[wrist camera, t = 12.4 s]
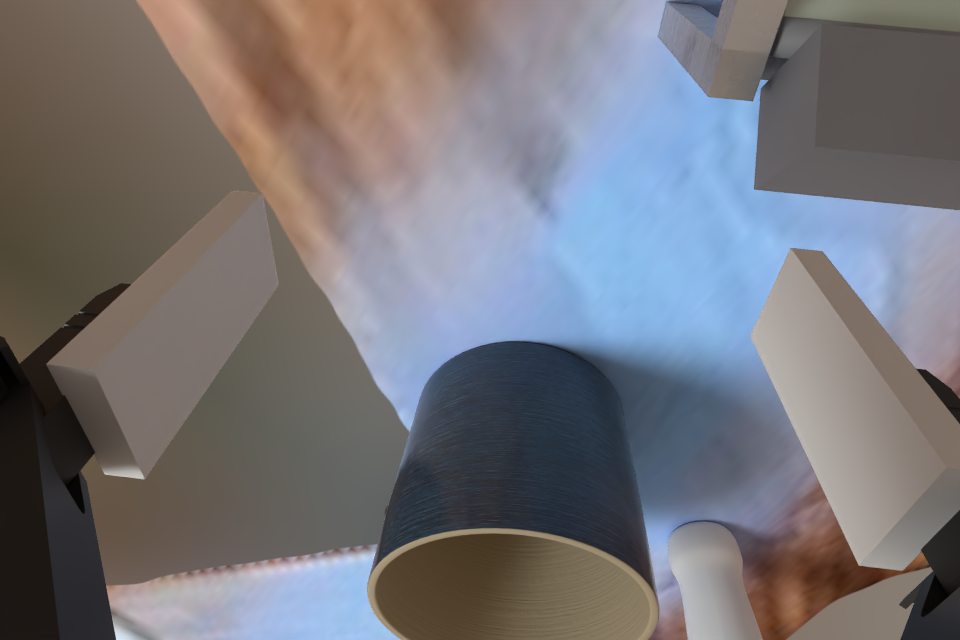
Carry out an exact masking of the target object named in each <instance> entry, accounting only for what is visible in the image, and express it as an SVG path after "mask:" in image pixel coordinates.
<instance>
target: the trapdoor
mask: <svg viewBox="0 0 960 640" xmlns="http://www.w3.org/2000/svg"><path fill="white" fill-rule="evenodd" d="M769 57H778V58H789V59H788V60H787V62H786V63H785V64H784V65H783V66H782V67H781V68H780V69H779V70H778V71H777V72H776V73H775V74H774V75H773V76H772V77H771V78H770V80H769V81H768V82H767V83H766V84H765V85H764V86H763V87H762V88H761V95H760V110H759V124H758V139H757V153H756V168H755V183H754V190H764V191H774V192H784V193H794V194H804V195H814V196H824V197H834V198H844V199H854V200H864V201H874V202H884V203H894V204H904V205H914V206H924V207H934V208H944V209H954V210H960V0H788V2H787V5H786V8H785V11H784V14H783V16H782V19H781V22H780V25H779V28H778V31H777V34H776V36H775V39H774V42H773V45H772V48H771V51H770V54H769Z"/></svg>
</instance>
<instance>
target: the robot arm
mask: <svg viewBox="0 0 960 640" xmlns="http://www.w3.org/2000/svg"><path fill="white" fill-rule="evenodd" d="M278 285H279V283H278V277H277V273H276V266H275V260H274V255H273V249H272V244H271V238H270V233H269V227H268V221H267V216H266V210H265V205H264V199H263V193H253V192H244V191H235V190H232V191H231V193H229V194H228V195H227V196H226V197H225V198H224V199H223V200H222V201H221V202H220V203H219V204H217V205H216V206H215V207H214V208H213V209H212V210H211V211H210V212H209V213H208V214H207V215H206V216H205V217H203V218H202V219H201V220H200V221H199V222H198V223H197V224H196V225H195V226H194V227H193V228H192V229H191V230H190V231H189V232H187V233H186V234H185V235H184V236H183V237H182V238H181V239H180V240H179V241H178V242H177V243H176V244H174V245H173V246H172V247H171V248H170V249H169V250H168V251H167V252H166V253H165V254H164V255H163V256H162V257H161V258H159V259H158V261H156V262H155V263H154V264H153V265H152V266H151V267H150V268H149V269H148V270H147V271H146V272H144V273H143V275H141V276H140V277H139V278H138V279H137V280H136V281H135V282H134V283H133V284H122V283H121V284H119V285H117V286H115V287H113V288H111V289H109V290H107V291H105V292H103V293H101V294H99V295H97V296H96V297H95V298H94V299H92V300H91V301H90V302H89V303H88V304H87V305H86V306H85V307H84V308H82V309H81V310H80V311H79V314H78V315H74V316H73V317H72V318H71V319H70V320H69V321H68V322H66V323H65V326H64V328H60V329H58V331H56V332H55V333H54V334H53V335H52V336H51V337H50V338H48V339H47V340H46V341H45V342H44V343H43V344H42V345H40V346H39V347H38V348H37V349H36V350H35V351H34V352H33V353H32V354H30V355H29V356H28V357H27V358H26V359H25V360H24V361H22V362H21V363H20V364H19V363H18V361H17V359H16V358H15V356H14V354H13V352H12V351H11V349H10V347H9V345H8V344H7V342H6V340H5V338H3V337H1V336H0V640H116V637H115V632H114V627H113V621H112V616H111V610H110V605H109V600H108V594H107V589H106V584H105V578H104V573H103V567H102V562H101V557H100V552H99V546H98V540H97V535H96V530H95V524H94V519H93V514H92V508H91V503H90V497H89V492H88V487H87V482H86V480H85V478H84V476H83V475H82V473H81V471H80V470H81V469H82V468H83V466H84V465H85V464H86V463H87V462H88V460H89V459H90V458H91V457H92V455H93V454H94V455H95V457H96V459H97V461H98V463H99V464H100V466H101V468H102V470H103V472H104V474H106V475H115V476H123V477H131V478H139V479H145V478H146V477H147V475H148V474H149V472H150V471H151V469H152V468H153V466H154V465H155V464H156V462H157V461H158V459H159V458H160V456H161V455H162V453H163V452H164V451H165V449H166V448H167V446H168V445H169V443H170V442H171V440H172V439H173V437H174V436H175V434H176V433H177V432H178V430H179V429H180V427H181V426H182V424H183V423H184V422H185V420H186V418H187V417H188V416H189V414H190V413H191V411H192V410H193V408H194V407H195V406H196V404H197V403H198V401H199V400H200V398H201V397H202V395H203V394H204V392H205V391H206V390H207V388H208V387H209V385H210V384H211V382H212V381H213V379H214V378H215V377H216V375H217V374H218V372H219V371H220V369H221V368H222V366H223V365H224V364H225V362H226V361H227V359H228V358H229V356H230V355H231V353H232V352H233V350H234V349H235V348H236V346H237V345H238V343H239V342H240V340H241V339H242V337H243V336H244V334H245V333H246V332H247V330H248V329H249V327H250V326H251V324H252V323H253V322H254V320H255V319H256V317H257V315H258V314H259V313H260V311H261V310H262V308H263V307H264V305H265V304H266V303H267V301H268V300H269V298H270V297H271V295H272V294H273V293H274V291H275V289H276V288H277V287H278ZM750 337H751V339H752V341H753V343H754V345H755V347H756V349H757V351H758V353H759V356H760V358H761V360H762V362H763V364H764V366H765V368H766V370H767V372H768V375H769V377H770V379H771V381H772V383H773V385H774V387H775V389H776V391H777V394H778V396H779V398H780V400H781V402H782V404H783V406H784V408H785V410H786V413H787V415H788V417H789V419H790V421H791V423H792V425H793V427H794V429H795V432H796V434H797V436H798V438H799V440H800V442H801V444H802V446H803V448H804V451H805V453H806V455H807V457H808V459H809V461H810V463H811V465H812V467H813V470H814V472H815V474H816V476H817V478H818V480H819V482H820V484H821V486H822V489H823V491H824V493H825V495H826V497H827V499H828V501H829V503H830V505H831V508H832V510H833V512H834V514H835V516H836V518H837V520H838V522H839V524H840V527H841V529H842V531H843V533H844V535H845V537H846V539H847V541H848V543H849V546H850V548H851V550H852V552H853V554H854V556H855V558H856V560H857V562H858V565H859V566H867V567H875V568H884V569H892V570H900V571H903V570H904V569H905V568H906V567H907V566H908V565H909V564H910V563H911V562H912V561H913V560H914V559H915V558H916V557H917V556H918V555H919V554H920V553H921V552H922V553H923V554H924V556H925V558H926V559H927V561H928V563H929V565H930V566H931V568H932V570H933V572H932V573H931V574H930V575H929V576H927V577H926V578H925V579H924V580H923V581H922V582H921V583H920V584H919V585H918V586H917V587H916V588H915V589H914V590H913V591H912V592H911V593H910V594H908V596H906V597H905V598H904V599H903V601H902V602H901V603H900V604H899V605H900V606H902V607H903V608H905V609H906V608H908V607H909V606H910V605H911V604H912V603H914V605H913V608H912V610H911V613H910V616H909V619H908V621H907V624H906V626H905V629H904V632H903V634H902V637H901V640H960V399H959V398H958V397H957V395H956V394H955V393H954V392H953V391H952V389H951V388H949V387H948V386H947V385H945V384H944V383H943V382H941V381H940V380H939V379H937V378H936V377H935V376H933V375H932V374H931V373H929V372H928V371H927V370H923V369H916V368H915V367H914V366H913V365H912V363H911V362H910V361H909V360H908V358H907V357H906V356H905V355H904V353H903V352H902V351H901V349H900V348H899V347H898V346H897V344H896V343H895V342H894V341H893V339H892V338H891V337H890V336H889V334H888V333H887V332H886V331H885V329H884V328H883V327H882V326H881V324H880V323H879V322H878V321H877V319H876V318H875V317H874V315H873V314H872V313H871V312H870V310H869V309H868V308H867V307H866V305H865V304H864V303H863V302H862V300H861V299H860V298H859V297H858V295H857V294H856V293H855V292H854V290H853V289H852V288H851V287H850V285H849V284H848V283H847V282H846V280H845V279H844V278H843V276H842V275H841V274H840V273H839V271H838V270H837V269H836V268H835V266H834V265H833V264H832V263H831V261H830V260H829V259H828V258H827V256H826V255H825V254H824V253H823V251H815V250H805V249H796V248H790V251H789V253H788V255H787V257H786V259H785V261H784V264H783V266H782V268H781V270H780V272H779V274H778V277H777V279H776V281H775V283H774V285H773V288H772V290H771V292H770V294H769V296H768V298H767V301H766V303H765V305H764V307H763V309H762V311H761V314H760V316H759V318H758V320H757V322H756V324H755V327H754V329H753V331H752V333H751V335H750Z"/></svg>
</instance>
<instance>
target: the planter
mask: <svg viewBox="0 0 960 640" xmlns="http://www.w3.org/2000/svg"><path fill="white" fill-rule="evenodd" d="M367 593H368V599H369V603H370V605H371V608H372V610H373V612H374V613H375V615H376V616H377V618H378V619H379V620H380V621H381V623H382V624H383V625H384V626H385V627H386V628H387V629H388V630H390V631H391V632H392V633H393V634H394V635H396V636H397V637H398V638H400V639H401V640H648V639H649V638H650V636H651V635H652V634H653V632H654V630H655V628H656V626H657V623H658V620H659V602H658V596H657V590H656V585H655V579H654V573H653V567H652V562H651V556H650V550H649V545H648V539H647V533H646V528H645V522H644V517H643V511H642V506H641V501H640V495H639V490H638V485H637V480H636V475H635V470H634V465H633V461H632V456H631V451H630V446H629V441H628V436H627V431H626V426H625V420H624V415H623V410H622V406H621V403H620V400H619V397H618V395H617V393H616V391H615V389H614V388H613V386H612V385H611V384H610V382H609V381H608V380H607V379H606V377H605V376H604V375H603V374H602V373H601V372H599V371H598V370H597V369H596V368H595V367H593V366H592V365H591V364H589V363H588V362H586V361H585V360H583V359H581V358H579V357H577V356H575V355H573V354H571V353H569V352H566V351H563V350H561V349H557V348H554V347H550V346H546V345H541V344H535V343H524V342H507V343H497V344H490V345H485V346H481V347H477V348H474V349H471V350H468V351H466V352H464V353H461V354H459V355H457V356H456V357H454V358H452V359H451V360H449V361H447V362H446V363H445V364H443V365H442V366H441V367H440V368H439V369H438V370H437V371H436V372H435V373H434V374H433V375H432V376H431V377H430V379H429V380H428V382H427V383H426V385H425V387H424V389H423V391H422V394H421V396H420V399H419V403H418V406H417V410H416V413H415V417H414V420H413V424H412V427H411V430H410V434H409V437H408V440H407V444H406V447H405V450H404V454H403V457H402V460H401V464H400V467H399V471H398V474H397V478H396V481H395V484H394V488H393V492H392V495H391V499H390V502H389V506H388V509H387V513H386V517H385V520H384V524H383V528H382V532H381V535H380V539H379V543H378V546H377V550H376V554H375V558H374V561H373V565H372V569H371V572H370V576H369V580H368V586H367Z"/></svg>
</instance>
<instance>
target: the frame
mask: <svg viewBox="0 0 960 640" xmlns="http://www.w3.org/2000/svg"><path fill="white" fill-rule="evenodd" d="M787 2H788V0H723V2H722V5H721V9H720V12H719V16H718V18H717V17H715V16H714V15H713V14H711V13H710V12H708V11H707V10H705V9H704V8H702V7H701V6H699V5H696V4H685V3H673V2H666V4H665V9H664V13H663V17H662V21H661V26H660V30H659V34H658V38H659V39H660V40H661V41H662V42H663V44H664V45H665V46H666V47H667V48H668V50H669V51H670V52H671V53H672V54H673V56H674V57H675V58H676V59H677V60H678V61H679V63H680V64H681V65H682V66H683V67H684V69H685V70H686V71H687V72H688V73H689V75H690V76H691V77H692V78H693V79H694V81H695V82H696V83H697V84H698V85H699V87H700V88H701V89H702V90H703V91H704V93H705V94H706V95H707V96H708V97H714V98H725V99H735V100H746V101H753V99H754V96H755V94H756V91H757V88H758V85H759V82H760V79H762V80H770V78H771V77H772V76H773V75H774V74H775V73H776V72H777V71H778V70H779V69H780V68H781V67H782V66H783V65H784V64H785V63H786V62H787V60H788V59H789V58H778V57H769V54H770V51H771V48H772V45H773V42H774V39H775V36H776V34H777V31H778V28H779V25H780V22H781V19H782V16H783V14H784V11H785V8H786V5H787Z"/></svg>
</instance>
